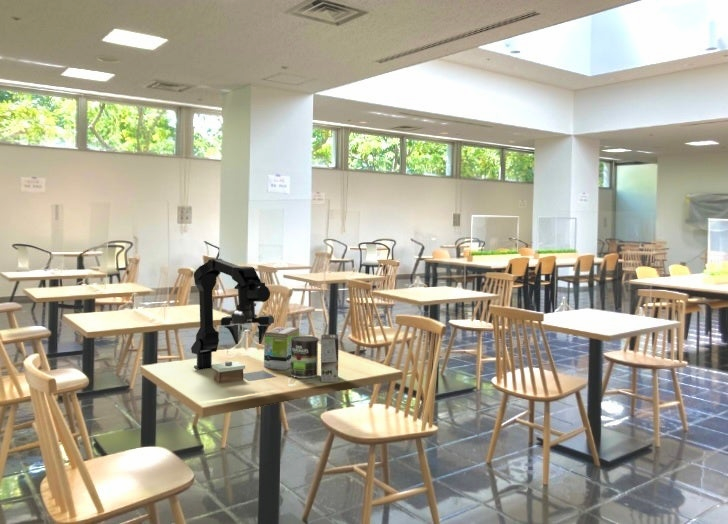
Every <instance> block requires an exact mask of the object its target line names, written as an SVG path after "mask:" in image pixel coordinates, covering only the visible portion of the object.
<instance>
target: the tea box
mask: <svg viewBox="0 0 728 524" xmlns="http://www.w3.org/2000/svg"><path fill="white" fill-rule="evenodd" d="M299 334H300V329H299V327H288V326H276V327H274V328H271V329H270V330H266V332H265V334H264V345H263V346H264V347H263V349H264V351H263V352H264V353H263V368H268V369H270V370H282V371H283V370H284V371H285V370H287V369H289V368H291V338H293V337H298V336H300V335H299Z"/></svg>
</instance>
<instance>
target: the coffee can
mask: <svg viewBox="0 0 728 524" xmlns="http://www.w3.org/2000/svg"><path fill="white" fill-rule="evenodd" d="M318 349H319V338H318V337H316V336H312V335H311V336H310V335H309V336H308V335H307V336H306V335H305V336H304V335H303V336H302V335H299V336H298V337H293V338H291V367H290V377H292V376H295V377H297V378H296V379H312V378H311V377H313V378H316V377H317V376H318V375H317V374H318V357H319V355H318V354H319V353H318V352H319V351H318ZM315 376H316V377H315ZM295 377H294V378H295Z"/></svg>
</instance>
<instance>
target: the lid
mask: <svg viewBox="0 0 728 524" xmlns="http://www.w3.org/2000/svg"><path fill="white" fill-rule="evenodd" d="M211 369H213V370H214V369H215V370H217V371H218V372H225V371H232V370H239V369H243V370H245V369H246V365H245V364H243V363H241V362H239V361H236V360H235V361H225V362H222V363H221V362H220V363H214V364H212V368H211Z"/></svg>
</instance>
